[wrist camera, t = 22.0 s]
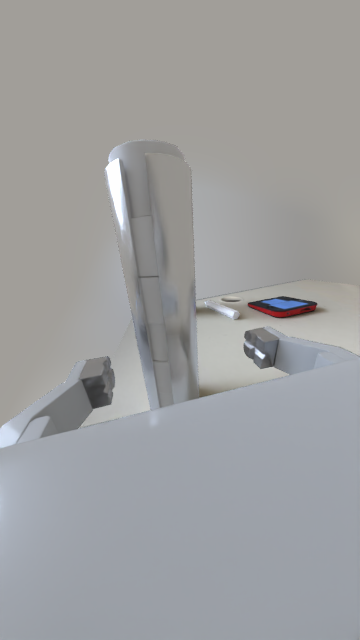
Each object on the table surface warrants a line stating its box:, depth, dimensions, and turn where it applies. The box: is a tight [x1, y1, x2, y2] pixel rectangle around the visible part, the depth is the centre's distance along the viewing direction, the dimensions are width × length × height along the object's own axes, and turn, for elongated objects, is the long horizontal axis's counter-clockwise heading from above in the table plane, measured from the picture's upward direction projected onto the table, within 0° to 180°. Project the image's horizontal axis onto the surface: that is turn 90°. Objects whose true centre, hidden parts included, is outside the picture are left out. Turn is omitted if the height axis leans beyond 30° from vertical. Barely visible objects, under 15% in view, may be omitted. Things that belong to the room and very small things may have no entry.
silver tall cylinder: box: [104, 140, 199, 410], centre depth 17 cm, size 6×6×25 cm
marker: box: [205, 300, 240, 319], centre depth 52 cm, size 3×2×16 cm
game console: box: [248, 296, 317, 318], centre depth 50 cm, size 14×13×2 cm
